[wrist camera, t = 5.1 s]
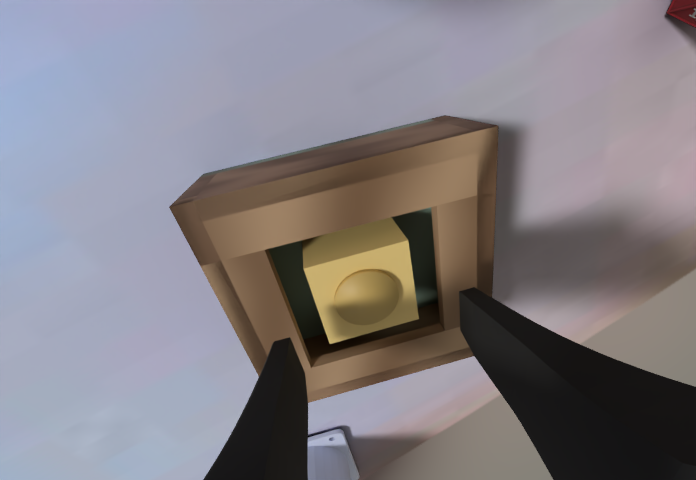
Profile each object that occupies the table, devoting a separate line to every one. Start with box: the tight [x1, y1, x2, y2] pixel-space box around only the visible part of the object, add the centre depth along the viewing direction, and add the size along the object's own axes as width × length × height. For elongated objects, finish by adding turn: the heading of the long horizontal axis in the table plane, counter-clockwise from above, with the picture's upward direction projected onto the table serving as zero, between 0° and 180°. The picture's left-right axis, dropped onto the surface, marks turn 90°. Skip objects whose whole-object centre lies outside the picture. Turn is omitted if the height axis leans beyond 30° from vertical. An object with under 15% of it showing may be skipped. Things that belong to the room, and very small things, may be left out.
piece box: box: [170, 116, 498, 403], centre depth 15 cm, size 12×12×4 cm
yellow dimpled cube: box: [302, 217, 419, 344], centre depth 15 cm, size 4×4×4 cm
